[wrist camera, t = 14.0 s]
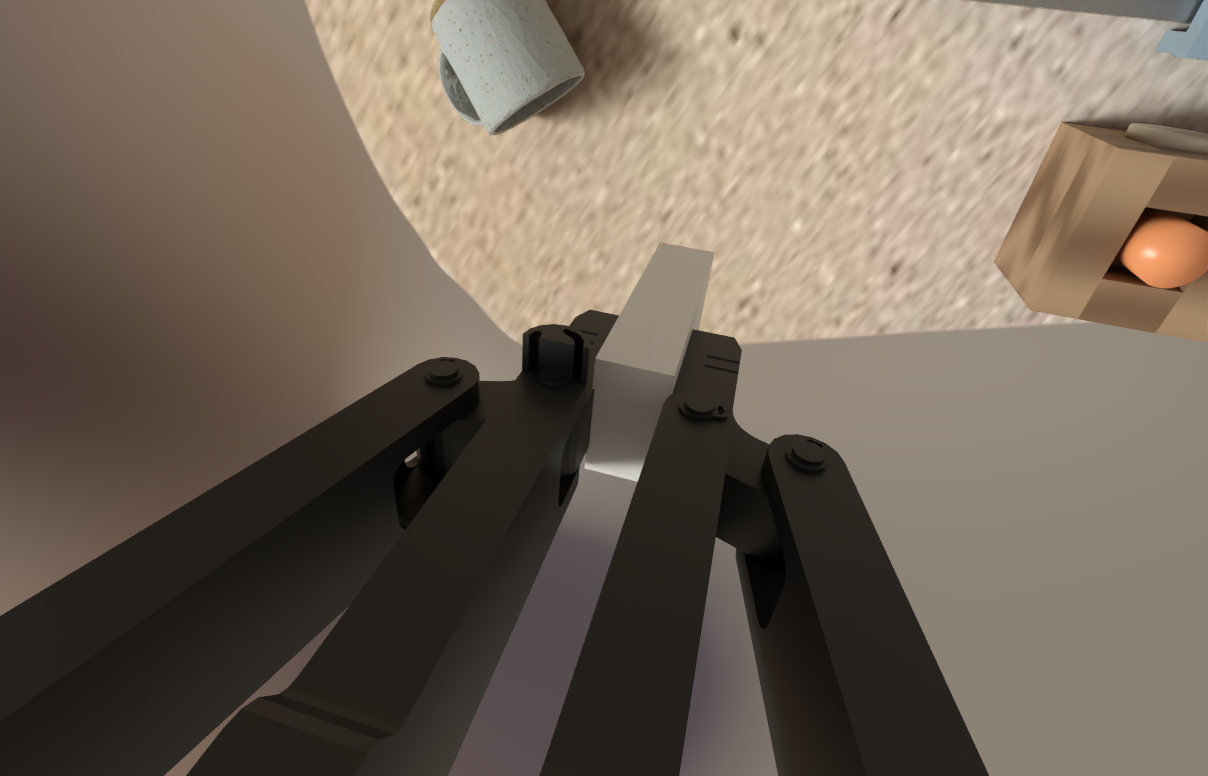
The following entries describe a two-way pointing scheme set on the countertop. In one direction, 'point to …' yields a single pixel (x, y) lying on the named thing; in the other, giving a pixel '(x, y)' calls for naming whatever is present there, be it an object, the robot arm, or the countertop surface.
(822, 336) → the countertop surface
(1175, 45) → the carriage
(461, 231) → the countertop surface
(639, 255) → the countertop surface
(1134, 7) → the rail
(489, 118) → the ceramic mug
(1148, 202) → the wooden box
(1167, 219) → the orange rounded cylinder
